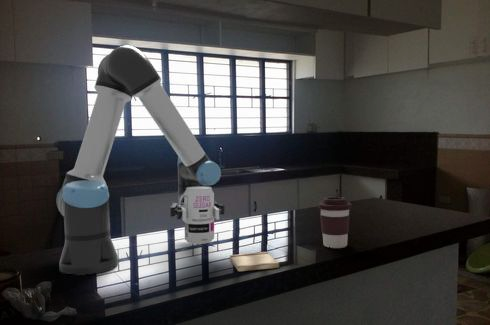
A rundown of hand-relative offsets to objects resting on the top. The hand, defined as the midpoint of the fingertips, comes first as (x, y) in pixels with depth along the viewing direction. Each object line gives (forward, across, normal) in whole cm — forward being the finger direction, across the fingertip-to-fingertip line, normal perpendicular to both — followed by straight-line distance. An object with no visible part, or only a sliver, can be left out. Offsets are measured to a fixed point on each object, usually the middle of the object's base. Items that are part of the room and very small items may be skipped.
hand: (201, 215), depth 112 cm
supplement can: (-5, 0, -8) cm, 10 cm away
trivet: (+1, -14, -14) cm, 20 cm away
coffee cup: (-9, -43, -13) cm, 46 cm away
